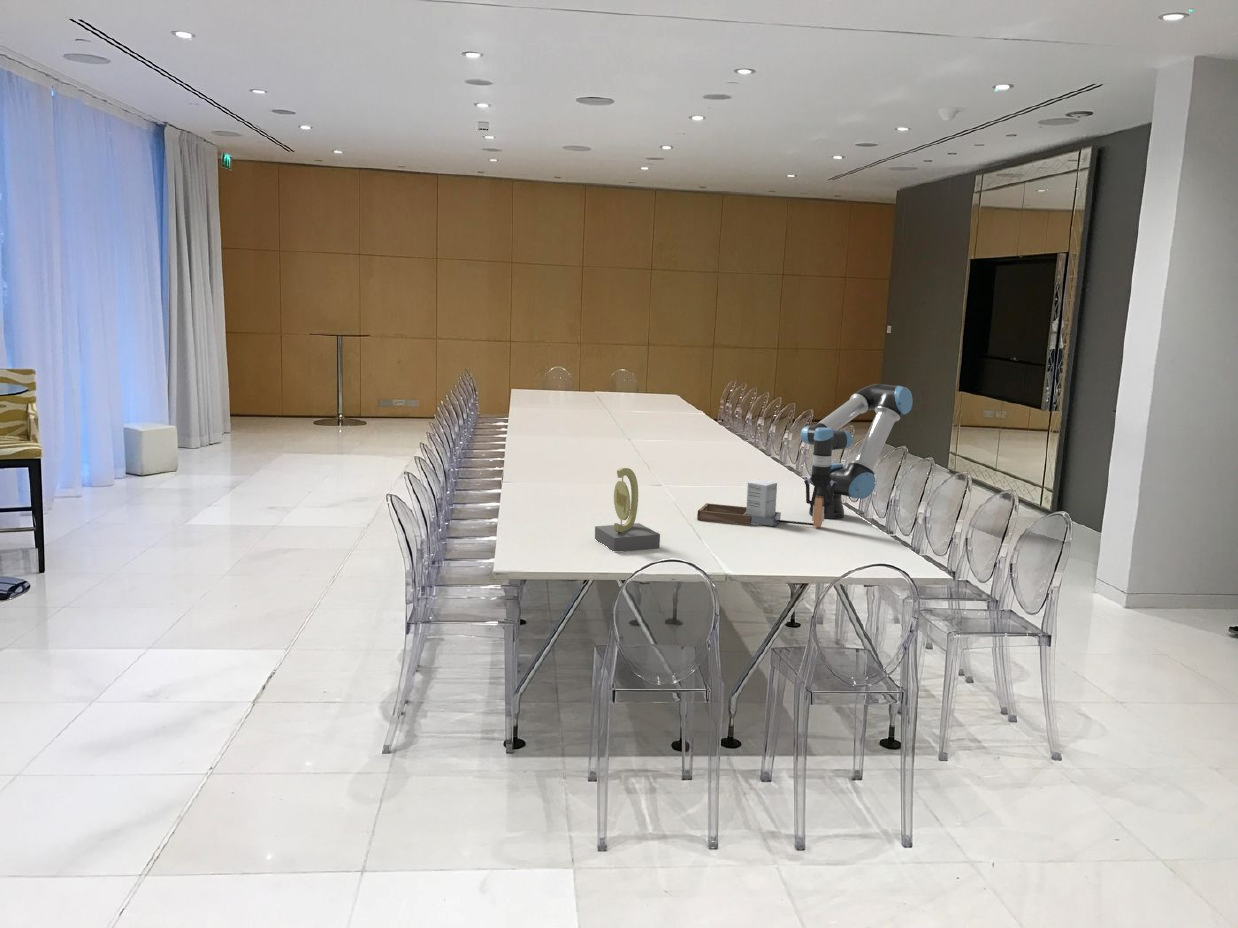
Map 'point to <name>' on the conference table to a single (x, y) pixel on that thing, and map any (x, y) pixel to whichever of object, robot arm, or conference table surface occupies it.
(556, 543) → the conference table surface
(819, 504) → the pusher tool
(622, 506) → the trophy
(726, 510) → the tray
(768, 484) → the supplement box
